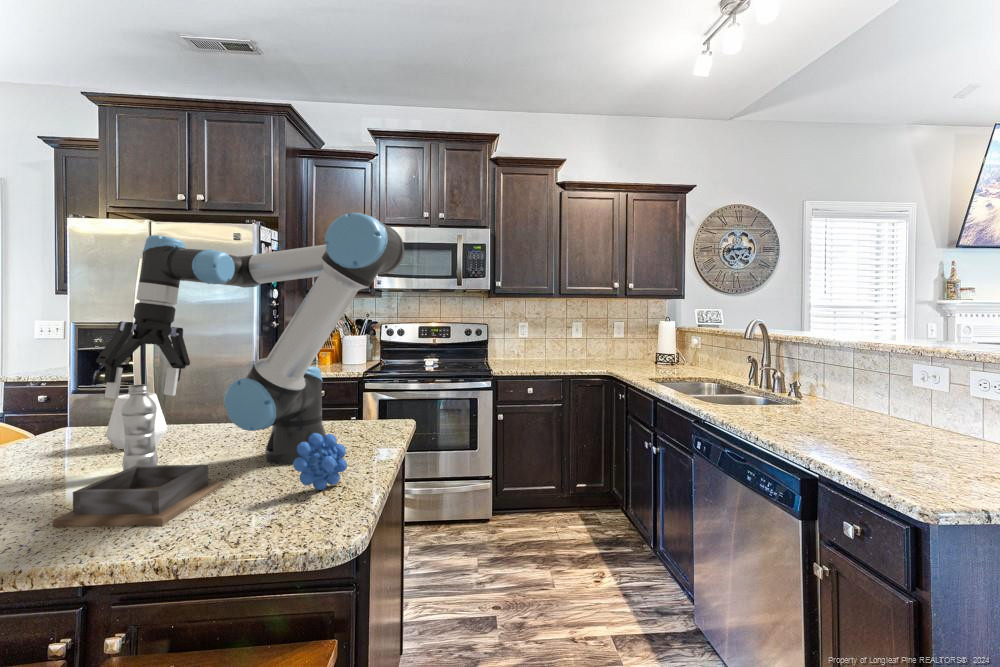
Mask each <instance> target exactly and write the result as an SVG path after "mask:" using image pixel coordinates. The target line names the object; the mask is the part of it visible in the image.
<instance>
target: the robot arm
mask: <svg viewBox="0 0 1000 667" xmlns="http://www.w3.org/2000/svg"><path fill="white" fill-rule="evenodd" d="M324 237H325V238H324V242H325V244H321V245H313V246H307V247H298V248H291V249H284V250H276V251H270V252H263V253H256V254H249V255H248V254H247V255H239V256H238V255H231V254H228V253H227V252H225V251H219V250H213V249H197V248H186V243H185V242H184V241H182V240H180V239H177V238H174V237H170V236H163V235H159V234H158V235H156V234H153V235H149V236H147V238H146V240H145V244H144V246H143V247H144V248H143V250H142V259H141V265H140V273H139V280H138V286H137V291H136V297H135V298H136V300H137V301H139V302H136V303H135V304H134V311H133V318H134V322H130V321H123V320H122V321H119V322H118V324H117V328H116V331H115V332H114V334H113V335H112V336H111V338H110V339H109V341H108V342H107V344H106V345H105V347H104V348H103V349H102V351H101V352H100V354H99V355H98V357H97V358H96V359H95V362H96V363H97V364H100V365H102V366H103V367H105V374H104V378H103V379H104V382H105V383H106V386H105V393H104V398H106V399H107V398H108V399H115V400H116V399H118V396H120V389H121V383H122V382H121V381H122V375H123V370H124V368H123V367H120V366H121V365H122V364H123V363H124V362H125V361H126V360H127V359H128V358H130V356H131V355H133V353H135V351H136V350H138V349H139V348H140V347H141V346H144V345H156V346H158V347H159V349H160V350H161V352H162V354H163V355H164V357H165V359H166V360H167V362H168V363H169V365H170V367H167V368H166V375H165V381H164V388H163V395H166V396H172V397H174V396H176V394H177V386H178V382H179V381H180V380H181V375H182V374H181V373H182V369H186V368H187V367H188V366H190V365H191V361H190V358H189V354H188V351H187V347H186V344H185V340H184V329H183V327H179V326H172V323H174V322H175V316H176V308H175V307H174V306H175V305H177V302H178V297H179V290H180V283H181V282H193V283H202V284H208V285H222V286H223V285H224V286H232V287H240V288H246V289H247V288H257V287H258V286H260V285H262V284H267V283H277V282H284V281H285V282H286V281H291V280H292V281H293V280H300V279H309V278H316V280H315V281H314V283H313V284H312V286H311V288H310V289H309V291H308V293H307V294H306V295H305V296H304V299H303V301H302V302H301V303H300V305H299V307H298V308H297V309H296V312H295V313H294V315H293V316H292V318H291V320H290V321H289V323H288V324H287V325H286V327H285V329H284V330H283V332H282V333H281V335H280V336H279V338H278V340H277V342H275V343H274V346H273V347H272V350H271V351H270V352H269V354H268V356H267V357H264V358H260V359H258V360H256V361H255V362H254V364H253V365H252V367H251V369H250V370H249V371H248V374H247V375H246V376H245V377H244V378H239V379H237V380H236V381H234V382H233V383H231V384H230V385H229V386H228V387H227V389H226V391H225V394H224V399H223V402H224V403H223V404H224V408H225V409H226V415H227V417H228V418H229V420H230V421H231V422H232V423H233V424H234V425H235V426H237V427H238V428H239V429H241V430H244V431H247V432H248V431H249V432H255V431H261V430H266V429H269V428H270V427H272V428H271V432H270V434H269V438H268V441H267V444H266V447H265V450H264V451H265V454H264V456H265V457H264V458H265V461H267V462H268V463H273V464H279V465H280V464H282V465H283V464H284V465H287V464H291V465H292V464H293V462H294V460H295V459H296V458H297V457H302V456H300V455H299V454H298V452H297V446H298V445H299V444H300V443H301V442H308V443H309V437H310V435H311V434H313V433H319V434H321V435H322V437H324V436H325V435H327V433H326V430H325V428H324V425H323V378H322V370H321V369H320V368H319V367H318V366H312V363H313V362H314V361H315V359H316V357H317V356H318V354H319V352H320V350H322V348H323V346H324V345H325V343H326V341H327V340H328V339H329V337H330V335H331V334H332V333H333V331H334V329H335V328H336V326H337V325H338V323H339V322H340V320H341V318H342V317H343V315H344V313H345V312H347V309H348V308H349V306H350V305H351V303H352V302H353V300H354V298H355V297H356V295H357V293H358V292H359V291H360V290H364V289H368V288H370V287H371V285H372V284H373V282H374V281H375V279H376V277H377V276H378V275H383V274H388V273H391V272H393V271H394V270H396V269H398V267H399V266H401V263H403V259H404V255H405V246H404V241H403V238H402V237H401V236H400V234H399V233H398V232H397V231H396V230H395V229H394V228H392V227H391V226H389V225H386V224H385V223H383V222H381V221H379V220H378V219H377V218H375V217H374V216H371V215H369V214H365V213H360V212H350V213H344V214H342V215H340V216H339V217H337V218H336V219H334V220H333V221H332V223H331V224H330V225H329V227H328V228H327V230H326V233H325V236H324ZM132 332H133V334H132V335H131V333H132ZM130 335H131V336H130Z"/></svg>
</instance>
